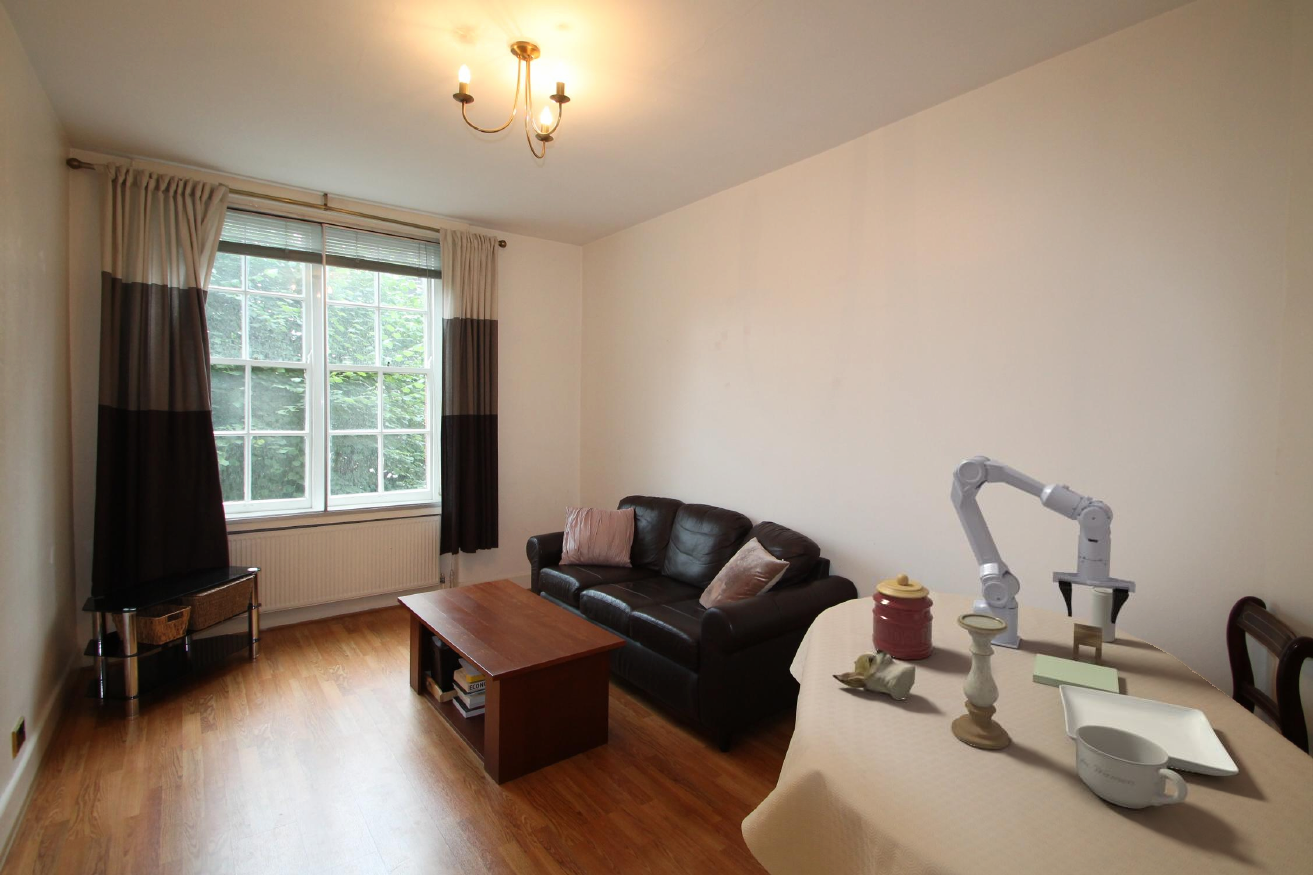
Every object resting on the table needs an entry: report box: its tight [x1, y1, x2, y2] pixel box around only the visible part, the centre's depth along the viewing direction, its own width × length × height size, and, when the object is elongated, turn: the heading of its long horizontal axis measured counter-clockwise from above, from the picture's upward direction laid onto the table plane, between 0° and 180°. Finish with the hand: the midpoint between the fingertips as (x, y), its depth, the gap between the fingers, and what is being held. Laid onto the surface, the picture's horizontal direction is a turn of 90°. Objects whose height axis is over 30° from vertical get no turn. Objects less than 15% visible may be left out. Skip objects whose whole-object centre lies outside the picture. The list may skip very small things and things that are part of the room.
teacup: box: [1075, 725, 1189, 809], centre depth 87 cm, size 14×11×8 cm
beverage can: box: [1090, 586, 1116, 643], centre depth 144 cm, size 5×5×12 cm
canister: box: [871, 573, 934, 660], centre depth 140 cm, size 13×13×18 cm
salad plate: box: [1058, 685, 1240, 777], centre depth 103 cm, size 21×21×3 cm
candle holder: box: [950, 612, 1010, 750], centre depth 104 cm, size 9×9×20 cm
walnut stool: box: [1072, 622, 1103, 666], centre depth 133 cm, size 5×5×7 cm
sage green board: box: [1032, 653, 1120, 694], centre depth 125 cm, size 14×12×2 cm
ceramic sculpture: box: [832, 649, 916, 701], centre depth 121 cm, size 11×9×15 cm
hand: (1091, 618), depth 133 cm, fingers open, 7 cm apart
